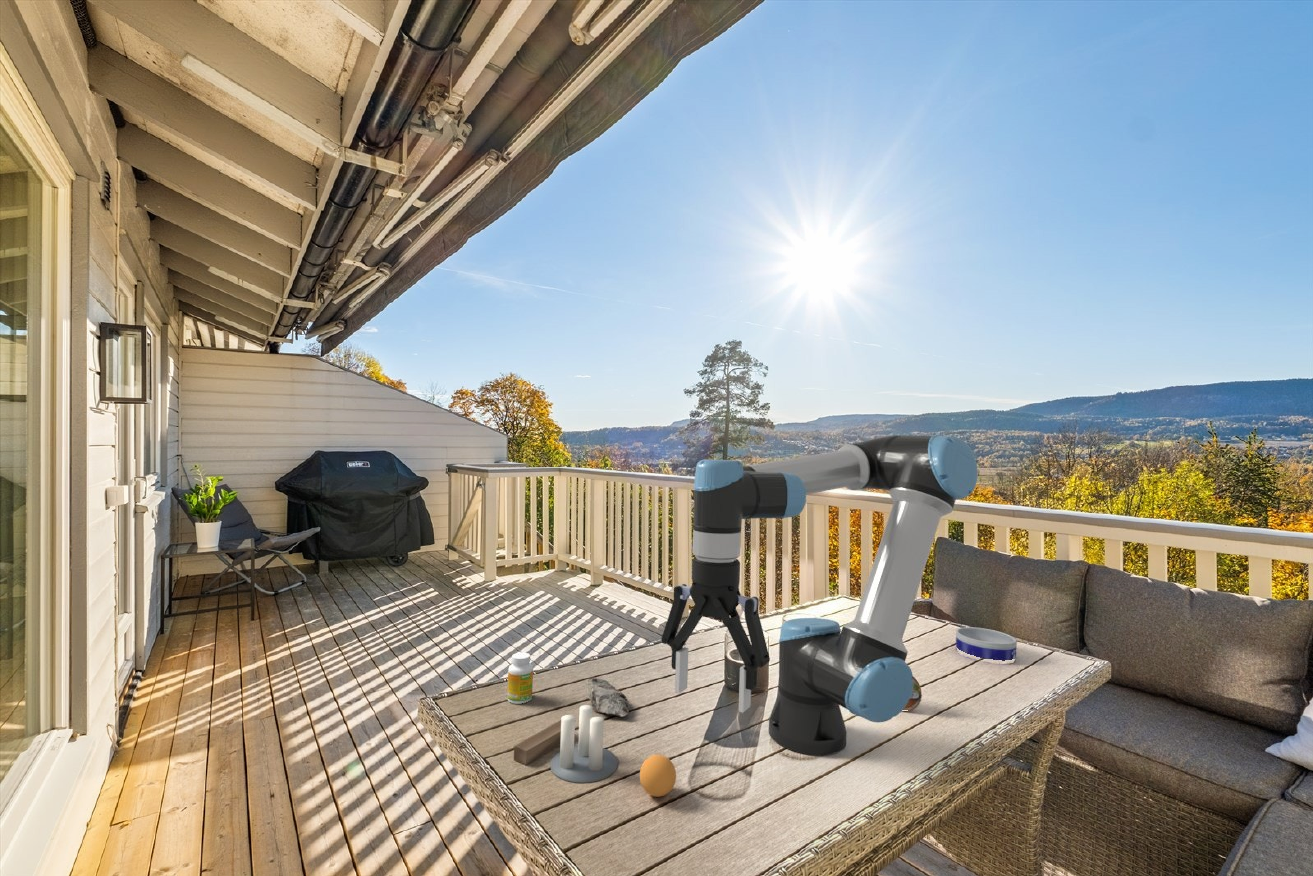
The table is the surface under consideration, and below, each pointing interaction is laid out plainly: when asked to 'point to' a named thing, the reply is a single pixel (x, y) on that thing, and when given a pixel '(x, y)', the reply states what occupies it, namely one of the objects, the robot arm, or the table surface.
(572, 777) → the pin disc
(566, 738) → the pin
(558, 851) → the table surface
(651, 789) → the ball
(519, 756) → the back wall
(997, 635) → the dog bowl
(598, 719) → the front pin
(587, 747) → the pin
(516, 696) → the supplement bottle
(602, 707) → the mineral rock
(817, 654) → the robot arm
